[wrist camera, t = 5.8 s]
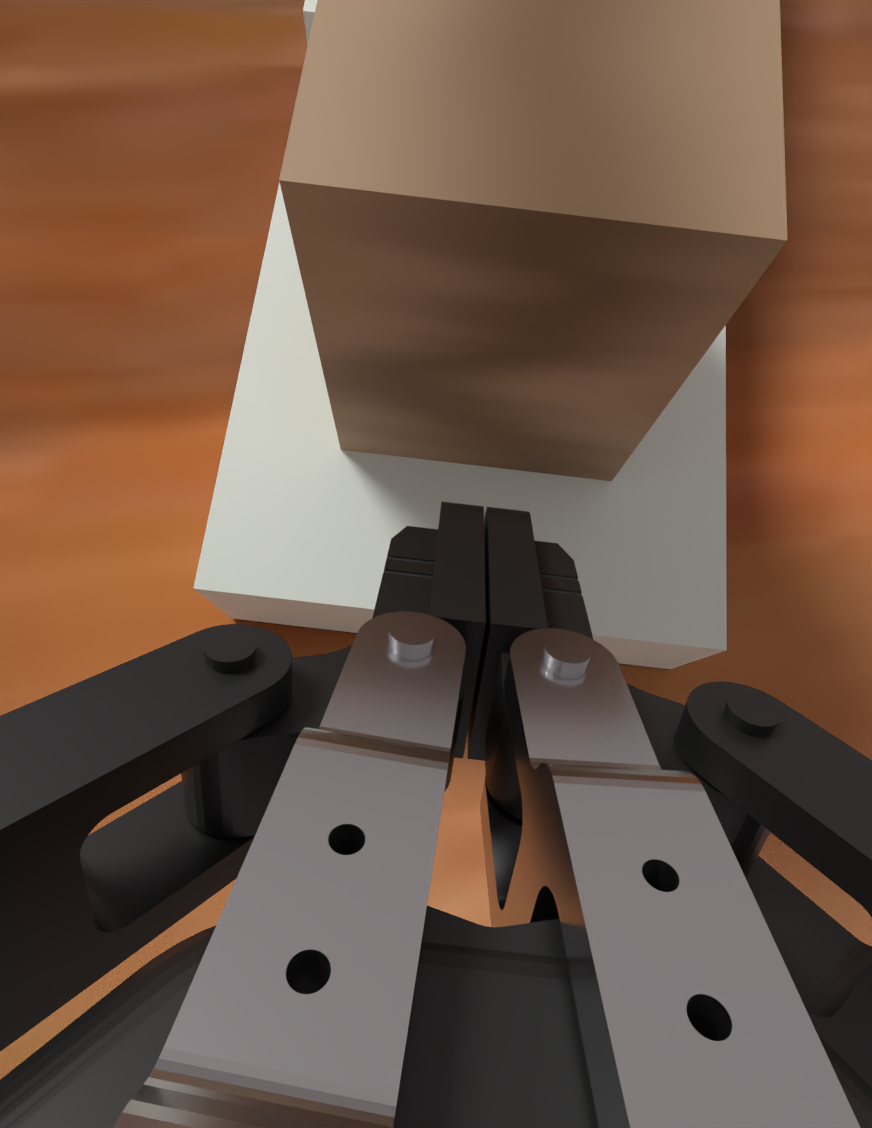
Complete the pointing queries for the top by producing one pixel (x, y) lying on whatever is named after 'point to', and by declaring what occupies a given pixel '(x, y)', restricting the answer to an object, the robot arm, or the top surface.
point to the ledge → (454, 500)
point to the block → (529, 216)
